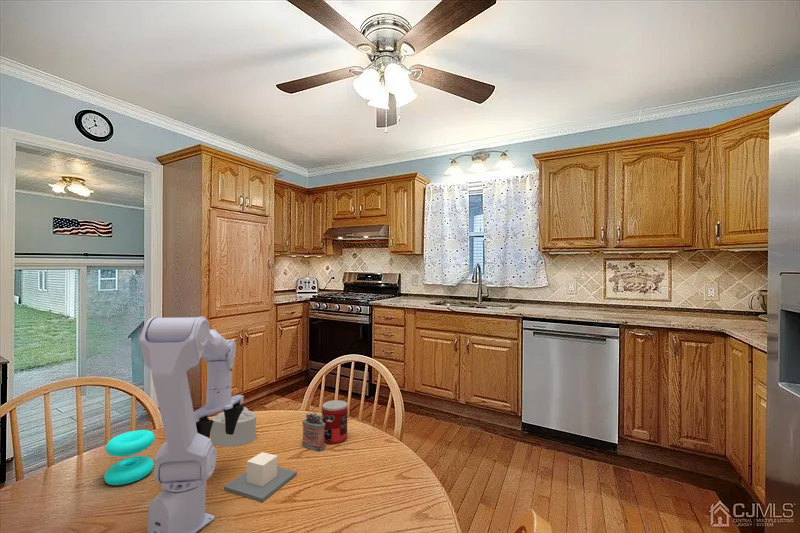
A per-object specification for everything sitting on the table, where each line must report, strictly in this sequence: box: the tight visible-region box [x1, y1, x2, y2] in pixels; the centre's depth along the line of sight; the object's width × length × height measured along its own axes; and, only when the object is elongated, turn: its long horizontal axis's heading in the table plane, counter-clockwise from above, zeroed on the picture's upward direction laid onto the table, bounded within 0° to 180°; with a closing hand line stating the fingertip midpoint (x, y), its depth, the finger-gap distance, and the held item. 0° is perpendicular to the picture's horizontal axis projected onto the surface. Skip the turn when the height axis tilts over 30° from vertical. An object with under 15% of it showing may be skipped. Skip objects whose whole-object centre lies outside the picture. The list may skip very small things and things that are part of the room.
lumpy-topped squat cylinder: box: [210, 406, 257, 448], centre depth 109 cm, size 10×13×9 cm
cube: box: [246, 451, 278, 487], centre depth 86 cm, size 5×5×5 cm
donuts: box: [103, 429, 156, 486], centre depth 88 cm, size 10×10×10 cm
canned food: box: [321, 399, 349, 445], centre depth 109 cm, size 8×8×11 cm
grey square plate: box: [223, 465, 298, 503], centre depth 86 cm, size 12×12×1 cm
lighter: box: [301, 412, 326, 452], centre depth 104 cm, size 8×3×10 cm, turn 62°
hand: (217, 440), depth 88 cm, fingers open, 7 cm apart
